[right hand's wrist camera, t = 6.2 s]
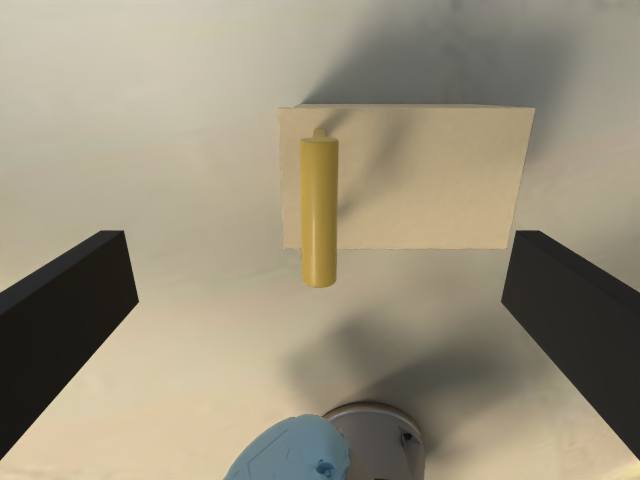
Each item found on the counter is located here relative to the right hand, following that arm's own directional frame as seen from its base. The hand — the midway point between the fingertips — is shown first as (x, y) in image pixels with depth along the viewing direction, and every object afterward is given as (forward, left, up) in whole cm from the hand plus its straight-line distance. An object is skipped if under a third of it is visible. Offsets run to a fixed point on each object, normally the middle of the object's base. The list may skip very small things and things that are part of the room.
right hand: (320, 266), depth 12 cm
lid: (+3, -4, -14) cm, 15 cm away
